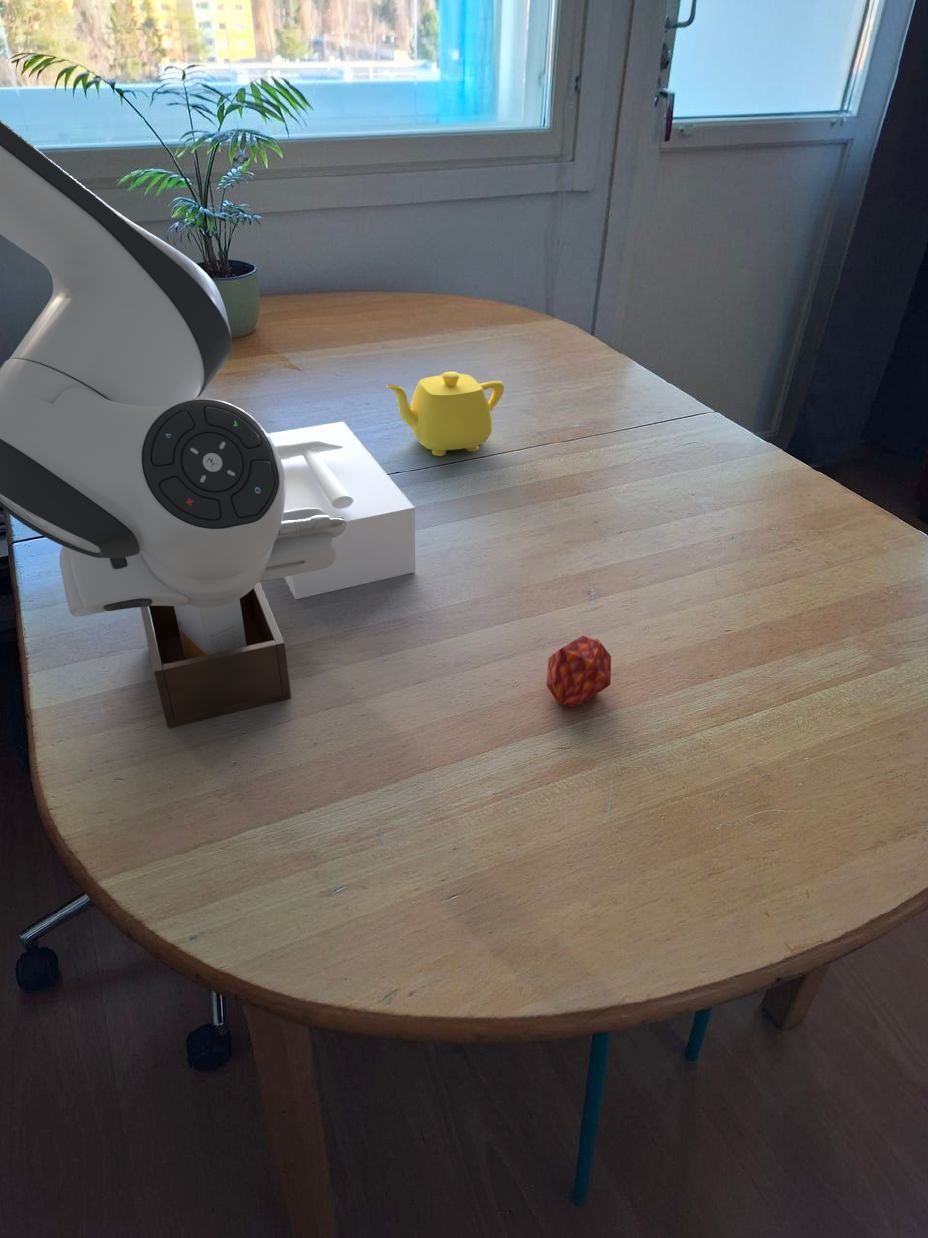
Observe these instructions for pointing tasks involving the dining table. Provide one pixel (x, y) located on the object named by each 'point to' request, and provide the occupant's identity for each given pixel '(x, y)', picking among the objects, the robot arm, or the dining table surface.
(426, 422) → the teapot
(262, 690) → the holder
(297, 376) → the dining table surface
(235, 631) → the cosmetic box
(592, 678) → the decorative stone
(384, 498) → the hammer relief block
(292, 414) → the dining table surface
